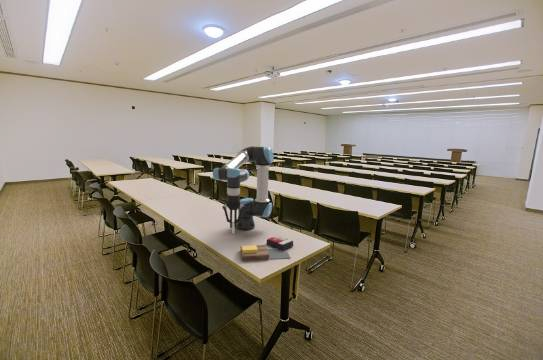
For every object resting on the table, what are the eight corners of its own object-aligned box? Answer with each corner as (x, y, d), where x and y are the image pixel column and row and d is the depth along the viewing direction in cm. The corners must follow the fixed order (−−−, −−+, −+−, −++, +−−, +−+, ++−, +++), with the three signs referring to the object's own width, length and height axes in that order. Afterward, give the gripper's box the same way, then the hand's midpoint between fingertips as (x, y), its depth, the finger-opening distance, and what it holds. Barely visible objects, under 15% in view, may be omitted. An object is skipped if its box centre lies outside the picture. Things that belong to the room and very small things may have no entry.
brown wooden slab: (240, 250, 164) (240, 246, 163) (265, 249, 167) (265, 245, 166) (242, 261, 150) (242, 256, 150) (268, 259, 153) (269, 254, 153)
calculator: (277, 234, 182) (293, 239, 172) (277, 240, 183) (293, 245, 172) (266, 238, 175) (282, 244, 164) (266, 244, 175) (282, 250, 165)
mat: (265, 249, 167) (265, 248, 167) (285, 248, 170) (285, 247, 169) (269, 259, 154) (269, 259, 153) (290, 258, 156) (290, 257, 156)
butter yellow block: (241, 249, 160) (241, 246, 159) (256, 248, 161) (256, 245, 161) (242, 253, 154) (242, 250, 153) (257, 252, 155) (257, 249, 155)
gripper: (222, 196, 144) (222, 235, 148) (245, 195, 147) (244, 234, 151) (222, 193, 152) (222, 230, 155) (244, 193, 154) (243, 230, 158)
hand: (233, 232), depth 153 cm, fingers closed
